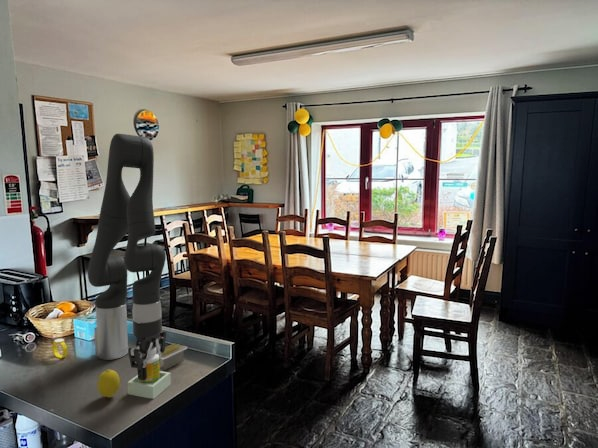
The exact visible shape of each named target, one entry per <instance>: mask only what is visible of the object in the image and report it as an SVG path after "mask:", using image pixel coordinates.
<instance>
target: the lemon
mask: <svg viewBox="0 0 598 448" xmlns="http://www.w3.org/2000/svg"><path fill="white" fill-rule="evenodd" d="M96 385H97V391H98V393H99V394H100V395H101V396H102V397H105V398H106V397H107V398H108V399H109V398H111V397H113V396H115V394H116V393H118V392H119V389H120V385H121V379H120V376H119V374H118V372H117V371H115V370H113V369H110V368H109V369H106V370H105V371H102V372H101V373H100V375H99V377H98V379H97V384H96Z"/></svg>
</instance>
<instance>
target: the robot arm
mask: <svg viewBox="0 0 598 448" xmlns="http://www.w3.org/2000/svg"><path fill="white" fill-rule="evenodd" d="M154 154H155V153H154V147H153V142H152V140H151V139H149V137H145V136H140V135H133V134H126V133H115V134H114V135H113V136H112V138H111V140H110V144H109V150H108V159H107V170H106V181H105V188H104V191H103V192H104V193H103V197H102V202H101V206H100V212H99V218H98V223H97V224H98V225H97V230H96V231H97V232H96V236H95V242H94V245H93V249H92V252H91V255H90V258H89V261H88V267H87V278H88V282H89V283H90V285H91V286H93V287H95V288H101V287H107V286H109V287H108V288H107V289H106V290H105V291H104V292H102V293H100V294H99V295H97V296H96V298H95V301H94V303H95V319H96V321H95V322H96V323H95V324H96V327H94V329H93V330H94V332H93V334H94V346H95V347H94V348H95V349H94V351H95V356H97V357H98V358H99V359H100V360H108V361H109V360H110V361H111V360H116V359H119V358H123V357H124V356H126V355H127V354H128V357H129V362H130V368H133V369H137V375H138V379H139V380H146V379H147V372H146V363H147V359H149V356H150V351H151V349H152V348H154V347H156V353H157V354H158V355H159V364H160V365H161V359H160V356H161V353H162V352H164V351H165V347H166V339H167V331H164V330H163V323H162V322H163V320H162V303H161V279H162V275H163V270H164V268H165V263H166V259H167V257H166V255H167V254H166V251H165V249H164V248H163V246H161V245H160V244H147V245H138V242H139V241H141V240H144V239H148V238H151V237H153V236H155V234H156V222H155V213H154V204H153V203H154V202H153V192H154V191H153V190H154V166H155V165H154V160H155V158H154ZM123 168H131V169H139V172H140V174H139V181H138V183H137V185H136V187H135V189H134V190H133V192H132V194H131V195H130V194H129V192H128V190H127V188H126V185H125V184H124V181H123V178H122V177H123V176H122V174H123ZM126 235H127V243H126V248H125V253H124V257H123V256H121V255H111V254H112V251H113V249H114V248H115V247H116V246H117V245H118V244H119V242H120V241H121V240H122V239H123V238H124V237H125V236H126ZM110 255H111V256H110ZM128 272H129V273H141V272H150V273H149V274H148V275H147V276H145V277H142V278H139V279H137V280H135V281H134V282H133V283H132V289H131V290H132V308H131V309H132V310H131V311H132V334H133V336H135V339H136V342H135V345H134V347H129V338H128V317H127V315H128V313H127V297H128ZM160 345H161V346H160ZM141 353H143V354H146V355H145V356H144V355H142V354H141ZM141 358H142V359H143V362H142V363H141Z"/></svg>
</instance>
